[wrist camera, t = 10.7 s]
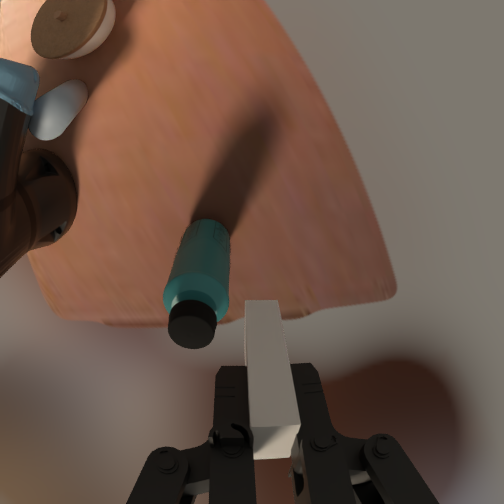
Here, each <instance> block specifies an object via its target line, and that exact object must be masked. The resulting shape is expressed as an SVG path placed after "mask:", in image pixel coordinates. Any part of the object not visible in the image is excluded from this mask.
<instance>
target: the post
mask: <svg viewBox="0 0 504 504" xmlns="http://www.w3.org/2000/svg"><path fill="white" fill-rule="evenodd" d="M87 99H88V89H87V86H86V84H85V83H84V82H82V81H80V80H77V79H72V80H68V81H66V82H64V83H63V84H61V85H59V86H57V87H56V88H54V89H52V90H51V91H49V92H47V93H46V94H44V95H43V96H41V97H39V98H38V99H37V100H35V101H34V105H33V116H31V118H30V122H29V126H28V128H29V130H30V132H31V133H32V134H33V135H34V136H35V137H36V138H38V139H40V140H52V139H55V138H57V137H58V136H59V135H61V134H62V133H63V132H64V130H65V129H66V128H67V126H68V125H69V124H70V123H71V121H72V120H73V119H74V118H75V116H76V115H77V114H78V113H79V112H80V110H81V109H82V108H83V107H84V106H85V104H86V102H87Z"/></svg>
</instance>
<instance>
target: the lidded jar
mask: <svg viewBox="0 0 504 504" xmlns="http://www.w3.org/2000/svg"><path fill="white" fill-rule="evenodd" d="M115 18H116V11H115V6H114V3H113V1H112V0H46V1H45V3H44V4H43V5H42V6H41V8H40V10H39V11H38V13H37V15H36V17H35V19H34V22H33V25H32V29H31V42H32V46H33V48H34V50H35V51H36V53H37V54H39V55H40V56H42V57H44V58H49V59H74V58H79V57H82V56H84V55H86V54H89V53H91V52H92V51H94V50H95V49H97V48H98V47H99V46H100V45H101V44H102V43H103V42H104V41H105V40H106V39H107V37H108V36H109V34H110V33H111V31H112V29H113V26H114V23H115Z"/></svg>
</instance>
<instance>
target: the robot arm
mask: <svg viewBox="0 0 504 504" xmlns="http://www.w3.org/2000/svg"><path fill="white" fill-rule="evenodd" d="M39 82H40V79H39V74H38V72H37V70H36V69H35V68H33V67H31V66H28V65H25V64H21V63H18V62H14V61H11V60H7V59H3V58H0V278H1V277H2V276H3V275H4V274H5V273H6V272H7V271H8V269H10V268H11V267H12V266H13V265H14V264H15V263H16V262H17V261H18V260H19V259H20V258H21V257H22V256H23V255H24V254H26V253H27V252H28V251H30V250H33V249H37V248H41V247H44V246H48V245H51V244H53V243H55V242H56V241H58V240H59V239H60V238H61V237H62V236H63V235H65V234H66V233H67V231H68V230H69V229H70V227H71V225H72V223H73V221H74V218H75V214H76V208H77V196H76V189H75V185H74V181H73V178H72V176H71V174H70V172H69V170H68V168H67V167H66V165H65V164H64V162H63V161H62V160H61V159H60V158H59V157H58V156H56V155H55V154H54V153H52V152H50V151H48V150H44V149H33V150H29V151H26V152H23V153H22V151H23V146H24V142H25V138H26V133H27V129H28V126H29V122H30V118H31V116H33V105H34V101H35V97H36V94H37V90H38V87H39ZM244 345H245V366H221V368H220V369H219V371H218V373H217V374H216V381H215V398H214V419H213V428H212V429H211V430H210V433H209V436H208V438H209V439H208V440H207V441H206V442H205V443H204V444H202V445H201V446H198V447H195V448H190V449H185V450H181V451H180V450H177V449H176V448H173V447H161V448H158V449H156V450H154V451H152V453H151V454H150V455H149V456H148V458H147V461H146V462H145V465H144V467H143V469H142V471H141V473H140V475H139V477H138V479H137V482H136V484H135V486H134V488H133V490H132V492H131V494H130V497H129V499H128V501H127V503H126V504H194V502H195V499H196V496H197V495H198V494H202V493H206V492H209V504H256V488H255V473H254V459H271V458H272V459H273V458H287V457H290V455H291V456H292V466H291V468H290V470H289V475H288V477H291V476H292V484H293V492H294V500H295V504H439V503H438V501H437V499H436V498H435V497H434V495H433V494H432V492H431V491H430V489H429V488H428V486H427V484H426V483H425V481H424V480H423V479H422V477H421V476H420V474H419V473H418V471H417V470H416V468H415V467H414V465H413V464H412V462H411V461H410V459H409V458H408V456H407V455H406V453H405V452H404V450H403V449H402V447H401V446H400V444H399V443H398V442H397V441H396V440H395V439H394V438H393V437H392V436H390V435H388V434H376V435H373V436H372V437H370V438H369V439H368V440H365V439H356V438H349V437H345V436H343V435H341V434H340V433H338V432H337V431H336V430H335V429H334V427H333V426H332V423H331V420H330V416H329V413H328V408H327V404H326V400H325V396H324V393H323V389H322V385H321V381H320V378H319V374H318V371H317V370H316V369H315V368H314V367H313V365H312V364H311V363H301V364H300V363H299V364H290V362H289V357H288V351H287V346H286V341H285V335H284V330H283V325H282V320H281V315H280V309H279V304H278V300H245V337H244Z"/></svg>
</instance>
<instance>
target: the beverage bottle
mask: <svg viewBox="0 0 504 504" xmlns="http://www.w3.org/2000/svg"><path fill="white" fill-rule="evenodd" d="M189 225H190V224H189ZM186 228H187V229H186V231H185V233H184V236H183V235H182V236H183V238H182V237H181V238H182V241H181V240H180V242H181V244H180V246H179V249H177V250H178V252H177V255H175V256H174V257H176V258H175V260H174V261H173V263H174V264H173V267H171V268H172V270H171V273H170V276H169V279H168V282H167V285H166V287H165V289H164V293H163V302H164V305H165V308H166V310H167V311H168V313H169V314H170V315H169V324H168V333H169V335H170V337H171V339H172V340H173V341H174V342H175V343H176V344H178V345H180V346H182V347H184V348H188V349H199V348H203V347H205V346H207V345H209V344H210V343H211V341H212V340H213V338H214V334H215V329H216V326H217V322H218V321H219V320H221V319H222V318H223V317H224V315H225V314H226V312H227V310H228V307H229V296H228V294H229V281H230V280H229V267H231V266H230V260H231V259H230V255H231V254H230V250H231V249H230V237H229V234H228V232H227V231H228V230H226V229H225V227H224V226H223V225H222V224H220V223H219V222H217V221H215V220H212V219H199V220H196V221H195V222H193V223H192V224H191V225H190V226H189V227H186ZM175 254H176V253H175Z"/></svg>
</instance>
